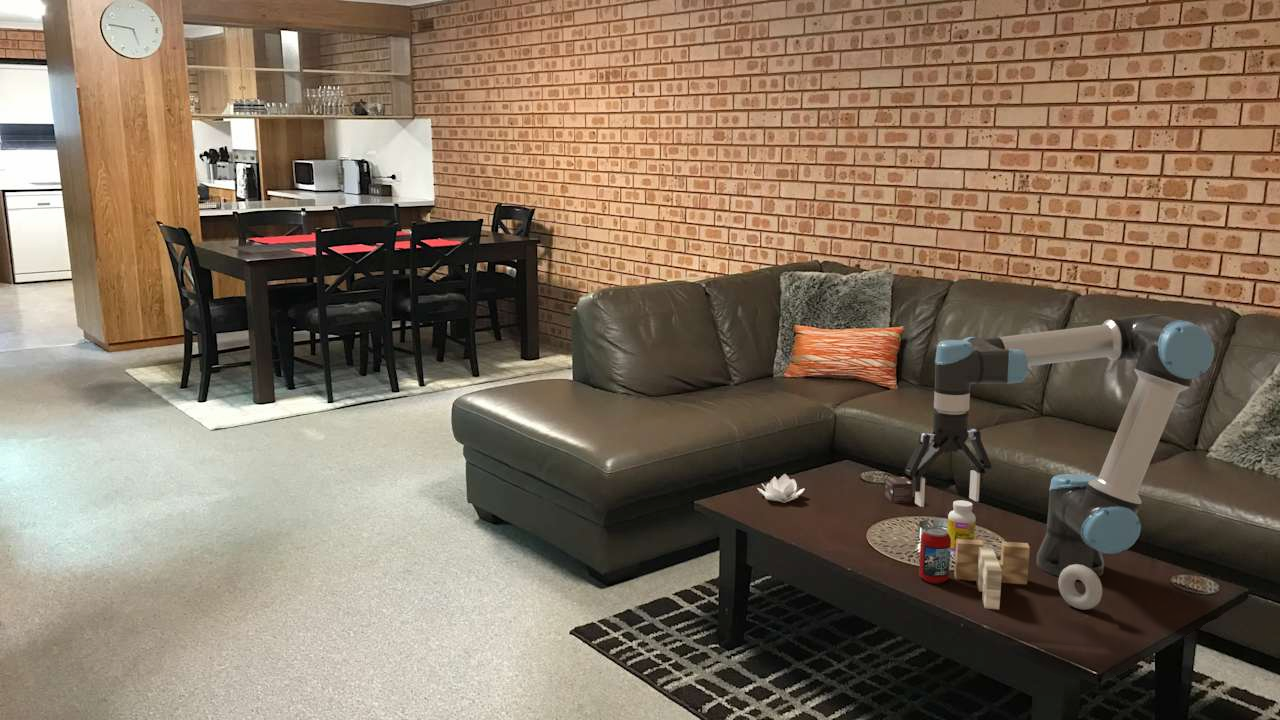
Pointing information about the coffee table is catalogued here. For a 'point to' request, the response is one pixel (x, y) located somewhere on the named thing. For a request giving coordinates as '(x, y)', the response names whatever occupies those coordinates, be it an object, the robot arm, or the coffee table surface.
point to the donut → (1090, 582)
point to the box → (898, 489)
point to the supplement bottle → (961, 523)
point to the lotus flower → (781, 489)
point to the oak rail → (1010, 563)
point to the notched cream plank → (989, 577)
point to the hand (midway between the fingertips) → (946, 502)
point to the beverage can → (935, 555)
